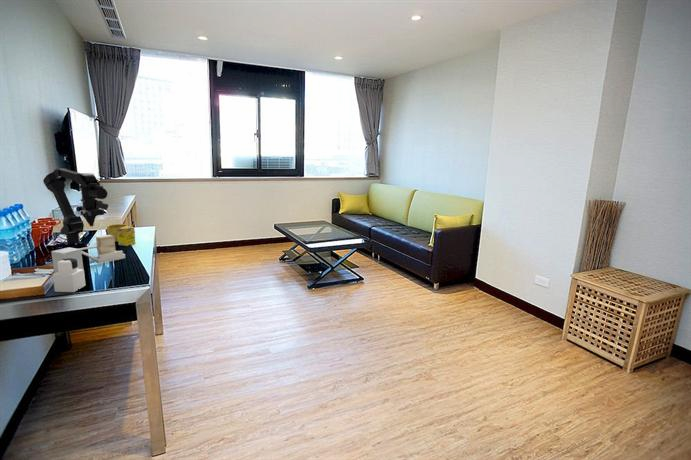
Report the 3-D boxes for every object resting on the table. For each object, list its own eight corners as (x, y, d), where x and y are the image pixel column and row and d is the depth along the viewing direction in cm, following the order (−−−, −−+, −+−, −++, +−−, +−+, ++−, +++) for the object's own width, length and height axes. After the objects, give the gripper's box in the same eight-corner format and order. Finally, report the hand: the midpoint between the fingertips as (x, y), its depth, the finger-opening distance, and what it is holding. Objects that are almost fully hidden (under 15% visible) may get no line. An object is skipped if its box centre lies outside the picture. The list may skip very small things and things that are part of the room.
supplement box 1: (85, 277, 150) (82, 249, 147) (66, 283, 143) (63, 253, 140) (73, 274, 152) (69, 246, 150) (54, 280, 145) (50, 251, 143)
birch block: (97, 256, 174) (95, 236, 172) (111, 253, 179) (109, 234, 177) (102, 258, 171) (100, 238, 169) (115, 255, 176) (114, 236, 174)
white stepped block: (67, 285, 141) (63, 256, 139) (86, 285, 142) (82, 257, 139) (54, 292, 134) (50, 262, 132) (74, 292, 135) (70, 262, 132)
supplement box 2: (127, 248, 194) (126, 229, 192) (118, 247, 195) (116, 228, 193) (136, 245, 200) (134, 226, 198) (127, 244, 201) (125, 225, 199)
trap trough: (75, 252, 181) (74, 245, 181) (101, 248, 191) (100, 241, 190) (98, 263, 168) (97, 255, 167) (125, 258, 178) (124, 250, 177)
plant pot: (133, 241, 209) (132, 224, 207) (119, 245, 199) (118, 228, 197) (118, 239, 211) (116, 223, 209) (103, 243, 201) (102, 226, 199)
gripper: (113, 198, 187) (116, 226, 191) (97, 194, 197) (100, 221, 201) (89, 199, 178) (92, 229, 182) (74, 196, 188) (77, 224, 192)
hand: (91, 226), depth 189 cm, fingers closed
